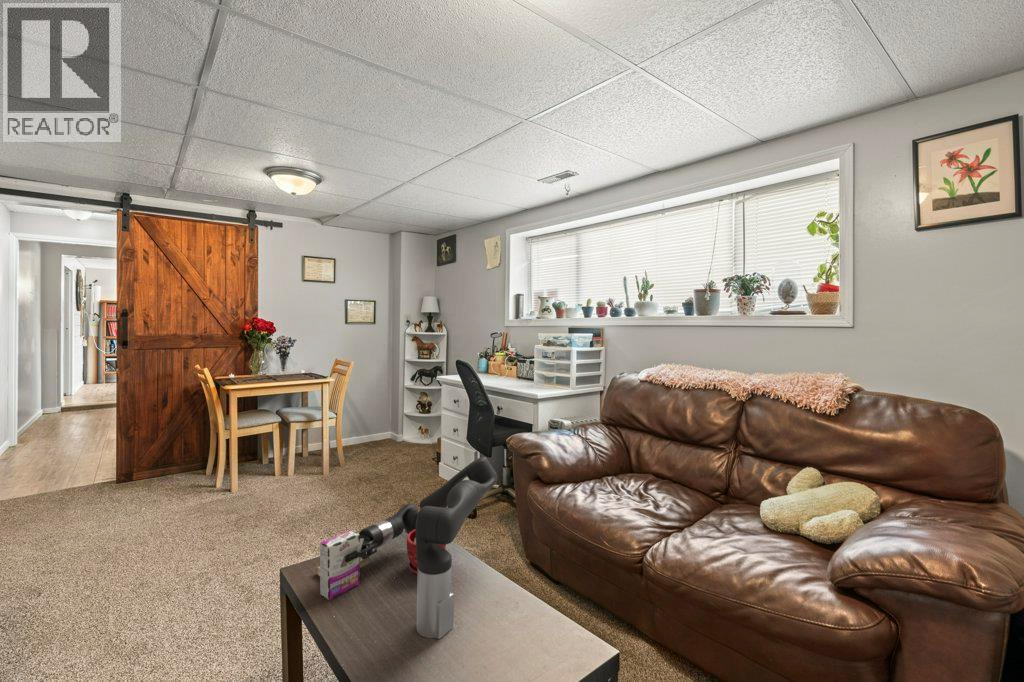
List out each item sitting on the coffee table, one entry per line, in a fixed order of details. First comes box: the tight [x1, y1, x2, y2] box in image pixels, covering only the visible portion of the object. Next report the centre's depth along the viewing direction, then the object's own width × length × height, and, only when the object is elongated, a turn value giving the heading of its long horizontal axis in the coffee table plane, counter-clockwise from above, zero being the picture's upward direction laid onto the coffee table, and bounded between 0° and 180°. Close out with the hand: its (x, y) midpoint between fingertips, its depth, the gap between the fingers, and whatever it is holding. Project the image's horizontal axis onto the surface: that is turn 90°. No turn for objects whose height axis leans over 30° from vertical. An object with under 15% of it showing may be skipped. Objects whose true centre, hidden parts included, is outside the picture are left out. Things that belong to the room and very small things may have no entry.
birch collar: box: [316, 556, 370, 577], centre depth 159 cm, size 8×14×2 cm, turn 149°
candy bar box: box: [319, 529, 361, 601], centre depth 147 cm, size 11×5×16 cm, turn 144°
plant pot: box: [406, 529, 447, 575], centre depth 160 cm, size 13×13×12 cm
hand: (336, 555), depth 145 cm, fingers open, 8 cm apart
